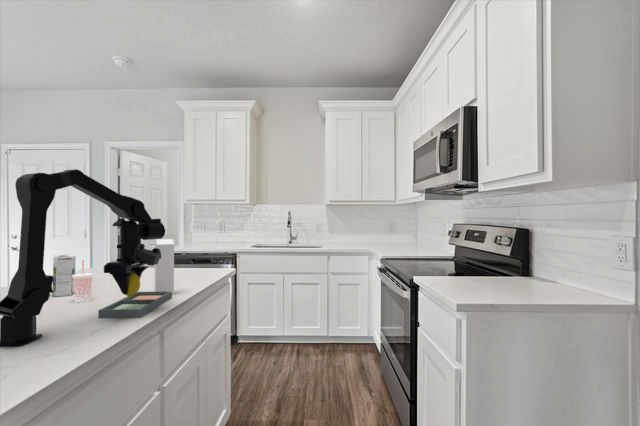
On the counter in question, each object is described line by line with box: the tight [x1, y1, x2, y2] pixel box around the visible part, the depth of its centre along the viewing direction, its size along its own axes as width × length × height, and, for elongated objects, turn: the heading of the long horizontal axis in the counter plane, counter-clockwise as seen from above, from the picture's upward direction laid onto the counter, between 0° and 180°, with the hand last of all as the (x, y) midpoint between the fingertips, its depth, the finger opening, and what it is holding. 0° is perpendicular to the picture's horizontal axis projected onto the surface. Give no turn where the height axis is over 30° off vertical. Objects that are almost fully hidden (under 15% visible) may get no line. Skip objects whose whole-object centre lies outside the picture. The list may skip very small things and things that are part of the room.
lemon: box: [119, 273, 141, 297], centre depth 106 cm, size 6×6×8 cm
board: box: [97, 291, 173, 319], centre depth 112 cm, size 24×12×2 cm, turn 3°
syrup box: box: [52, 254, 77, 298], centre depth 128 cm, size 6×6×14 cm
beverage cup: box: [72, 259, 94, 303], centre depth 120 cm, size 6×6×14 cm
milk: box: [154, 234, 175, 296], centre depth 130 cm, size 6×6×22 cm
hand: (130, 292), depth 106 cm, fingers closed on lemon, 5 cm apart
